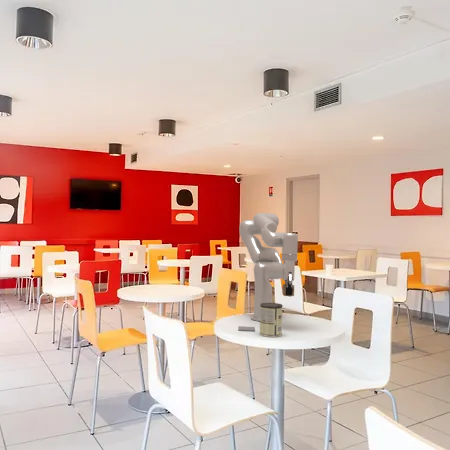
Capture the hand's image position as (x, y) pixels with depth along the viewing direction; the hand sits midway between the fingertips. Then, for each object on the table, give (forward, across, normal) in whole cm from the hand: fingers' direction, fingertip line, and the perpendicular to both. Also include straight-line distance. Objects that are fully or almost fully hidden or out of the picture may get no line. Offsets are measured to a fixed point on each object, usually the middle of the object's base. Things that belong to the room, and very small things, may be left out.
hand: (288, 294), depth 222 cm
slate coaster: (+17, +5, -20) cm, 27 cm away
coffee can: (+18, +14, -9) cm, 24 cm away
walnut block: (+1, 0, 0) cm, 1 cm away
